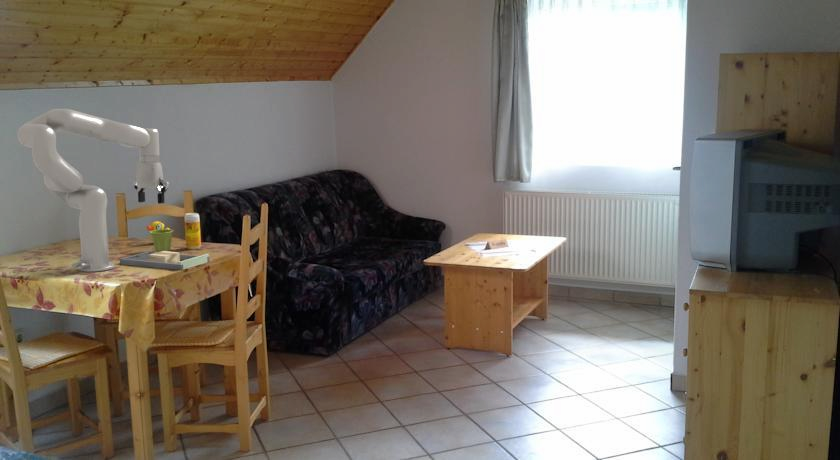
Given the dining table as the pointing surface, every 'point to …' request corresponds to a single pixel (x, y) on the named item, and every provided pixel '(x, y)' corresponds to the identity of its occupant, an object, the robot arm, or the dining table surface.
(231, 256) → the dining table surface
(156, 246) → the plant pot
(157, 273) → the dining table surface
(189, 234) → the beer can
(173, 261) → the birch block
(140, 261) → the grey shallow tray
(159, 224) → the duckling
